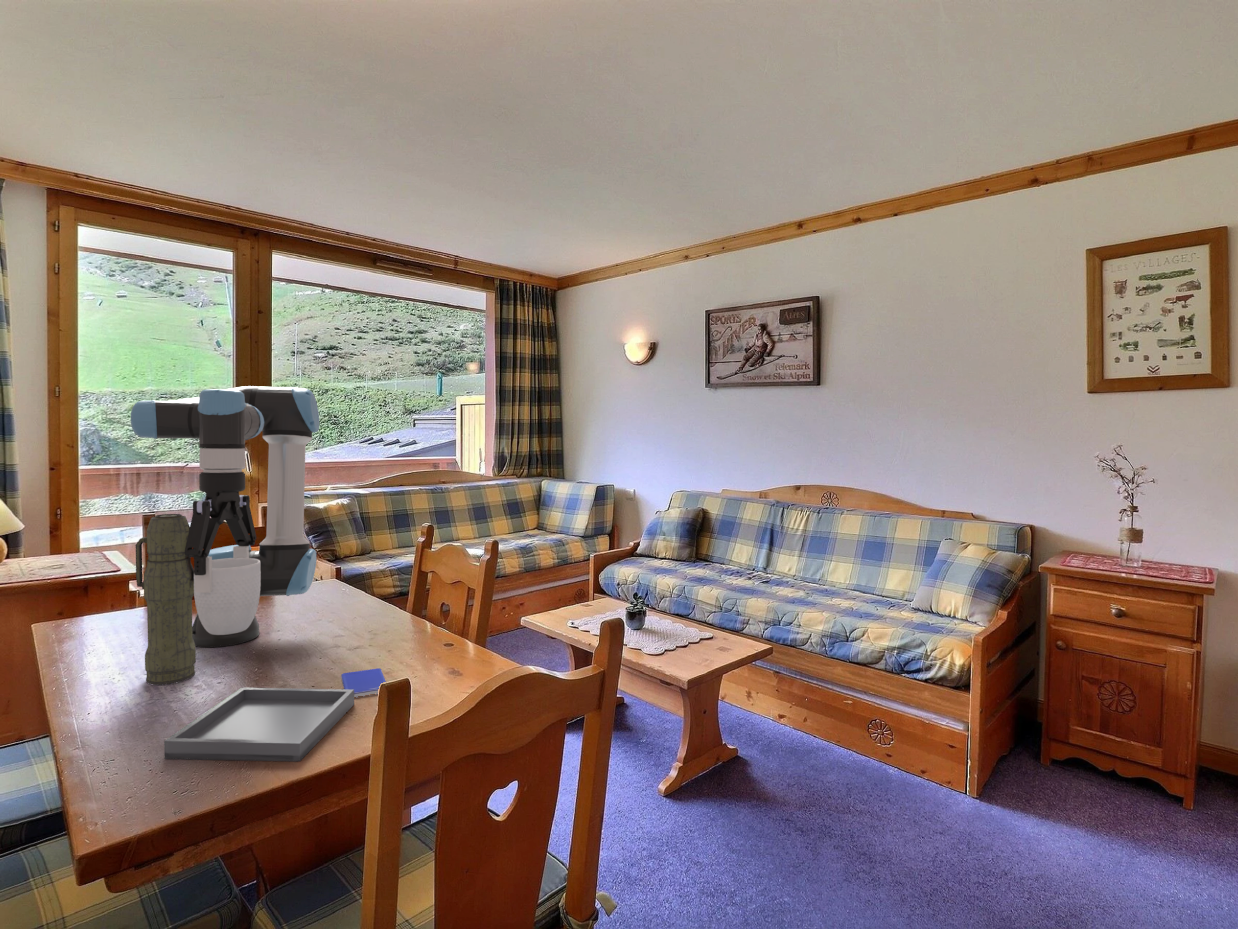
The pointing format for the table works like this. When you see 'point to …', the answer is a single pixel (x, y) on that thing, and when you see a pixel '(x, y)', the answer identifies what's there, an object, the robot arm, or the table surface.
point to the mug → (230, 596)
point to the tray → (261, 725)
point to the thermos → (167, 600)
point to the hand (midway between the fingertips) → (223, 585)
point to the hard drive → (363, 681)
